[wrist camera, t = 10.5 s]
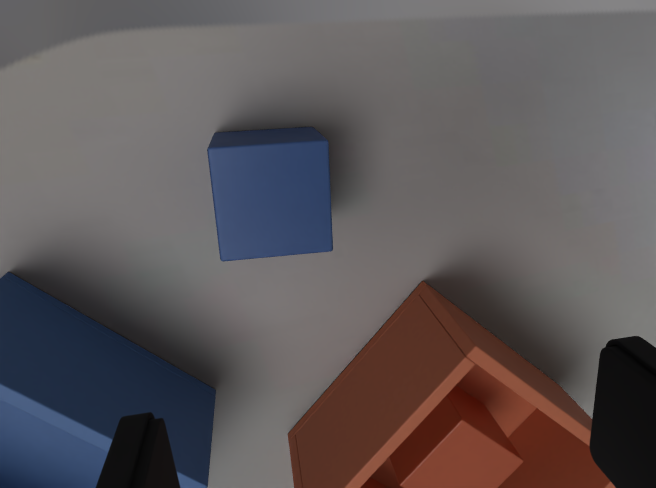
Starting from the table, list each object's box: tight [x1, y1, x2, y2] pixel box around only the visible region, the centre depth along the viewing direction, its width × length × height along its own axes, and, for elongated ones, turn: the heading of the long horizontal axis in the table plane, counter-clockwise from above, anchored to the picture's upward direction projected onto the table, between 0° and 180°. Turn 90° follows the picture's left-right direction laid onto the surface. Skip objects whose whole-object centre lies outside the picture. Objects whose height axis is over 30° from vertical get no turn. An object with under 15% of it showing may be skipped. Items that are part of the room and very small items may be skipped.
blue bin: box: [0, 272, 216, 488], centre depth 23 cm, size 11×11×7 cm
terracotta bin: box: [288, 281, 616, 488], centre depth 26 cm, size 11×11×7 cm
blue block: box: [207, 127, 333, 261], centre depth 22 cm, size 4×4×4 cm
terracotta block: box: [389, 386, 523, 488], centre depth 27 cm, size 4×4×4 cm
